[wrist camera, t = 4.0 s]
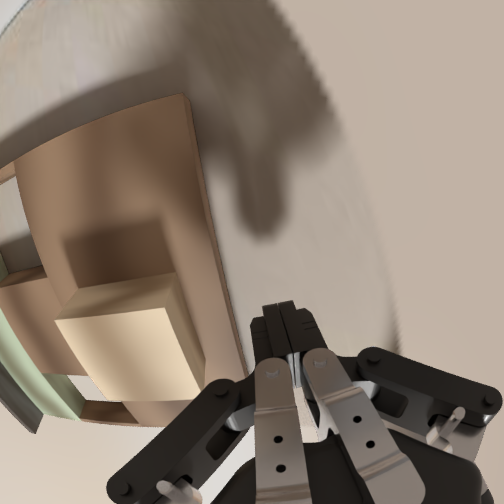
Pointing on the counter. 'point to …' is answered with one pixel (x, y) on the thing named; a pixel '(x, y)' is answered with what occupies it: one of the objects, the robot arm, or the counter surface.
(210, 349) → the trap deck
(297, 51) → the counter surface
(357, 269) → the counter surface
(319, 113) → the counter surface
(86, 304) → the block
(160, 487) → the robot arm
